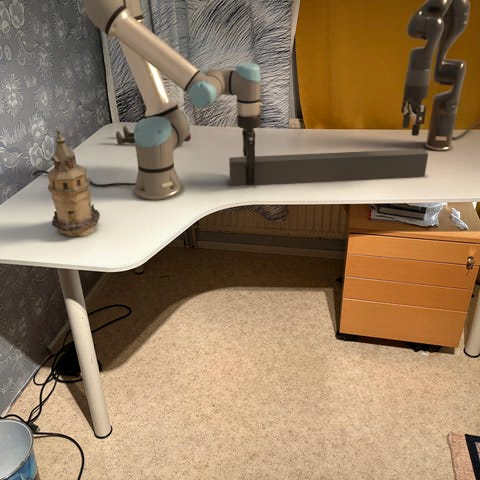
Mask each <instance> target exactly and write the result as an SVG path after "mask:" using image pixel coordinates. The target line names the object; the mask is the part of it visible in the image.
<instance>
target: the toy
mask: <svg viewBox="0 0 480 480" xmlns="http://www.w3.org/2000/svg"><path fill="white" fill-rule="evenodd" d="M122 131H123V135H122V134H121V132H120V131H119V130H118V131H116V132H115V138H116V143H117V145H122V144H135V140H134V131H133V132H131V131H129V128H128V127H127V126H126V125H123V127H122ZM191 136H192V134H191V132H189V134H188V136H187V138H186V139H185V141H184V142H185V143H187V142H189V141H191V138H192V137H191Z"/></svg>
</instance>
